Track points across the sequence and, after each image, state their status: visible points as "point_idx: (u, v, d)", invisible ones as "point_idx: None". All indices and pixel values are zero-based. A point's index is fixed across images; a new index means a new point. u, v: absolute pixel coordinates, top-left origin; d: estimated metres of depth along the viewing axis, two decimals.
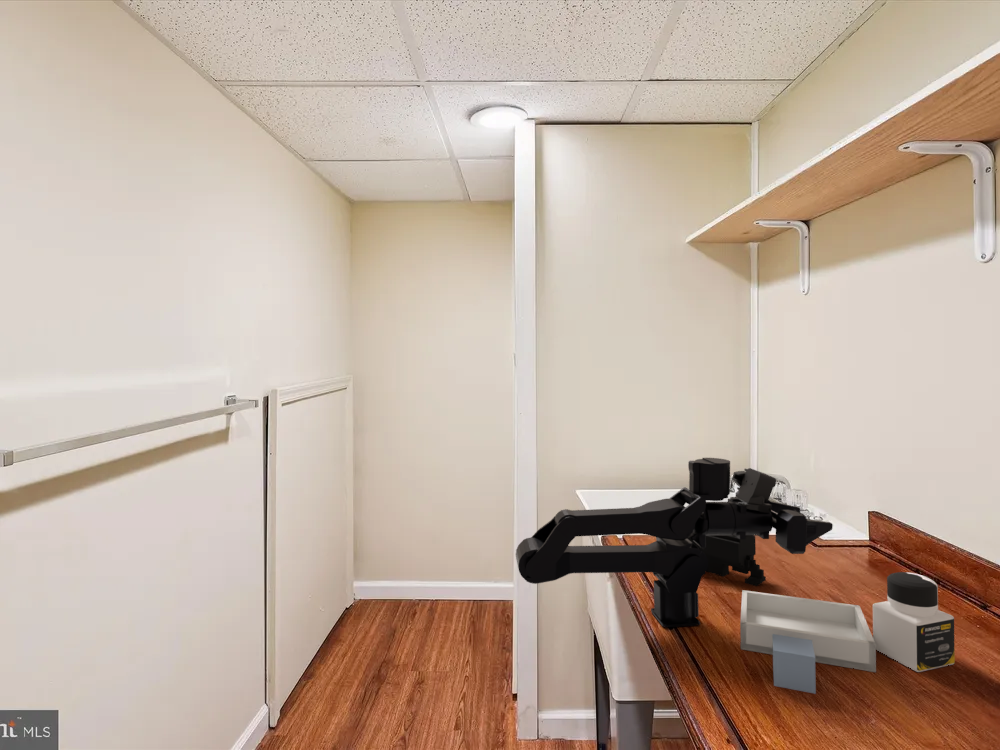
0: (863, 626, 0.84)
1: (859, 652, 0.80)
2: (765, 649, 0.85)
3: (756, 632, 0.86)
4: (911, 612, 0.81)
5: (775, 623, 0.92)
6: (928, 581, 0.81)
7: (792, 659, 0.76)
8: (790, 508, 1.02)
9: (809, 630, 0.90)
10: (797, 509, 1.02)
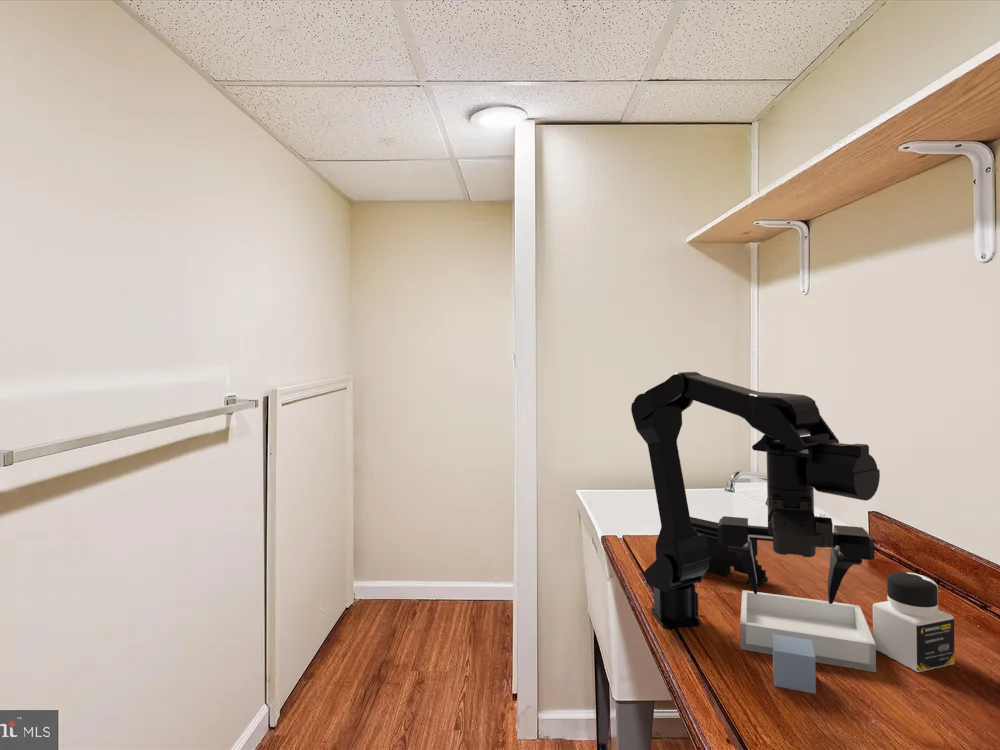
0: (863, 626, 0.84)
1: (859, 652, 0.80)
2: (765, 649, 0.85)
3: (756, 632, 0.86)
4: (911, 613, 0.81)
5: (775, 623, 0.92)
6: (928, 581, 0.81)
7: (792, 659, 0.76)
8: (829, 590, 0.76)
9: (809, 630, 0.90)
10: (828, 599, 0.76)
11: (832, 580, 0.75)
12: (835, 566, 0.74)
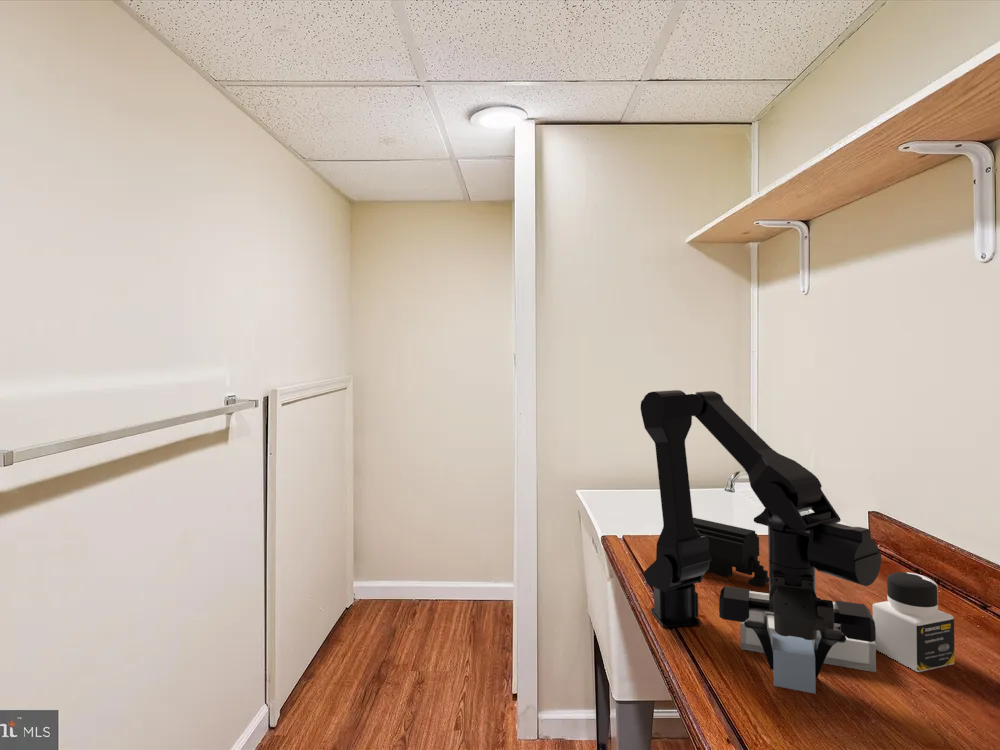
0: None
1: (859, 652, 0.80)
2: None
3: None
4: (911, 613, 0.81)
5: None
6: (928, 581, 0.81)
7: (792, 658, 0.76)
8: None
9: None
10: None
11: (817, 655, 0.76)
12: (820, 642, 0.75)
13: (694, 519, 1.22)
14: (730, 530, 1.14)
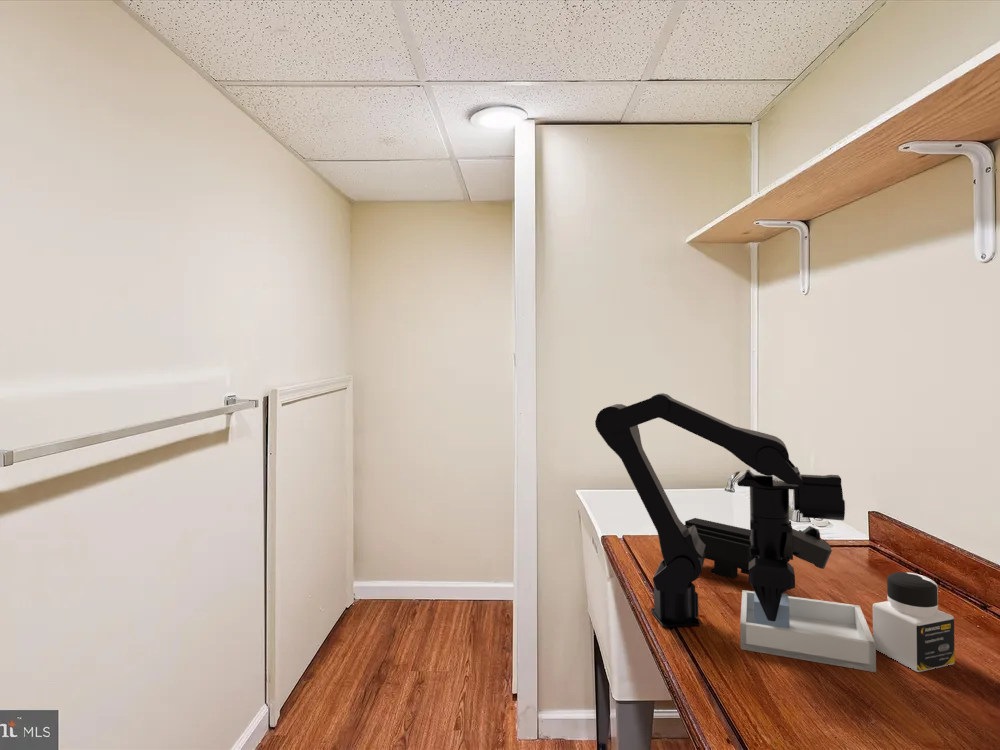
0: (863, 626, 0.84)
1: (859, 652, 0.80)
2: (765, 649, 0.85)
3: (756, 632, 0.86)
4: (911, 613, 0.81)
5: None
6: (928, 581, 0.81)
7: None
8: None
9: (809, 630, 0.90)
10: None
11: None
12: None
13: (699, 520, 1.21)
14: (735, 531, 1.13)
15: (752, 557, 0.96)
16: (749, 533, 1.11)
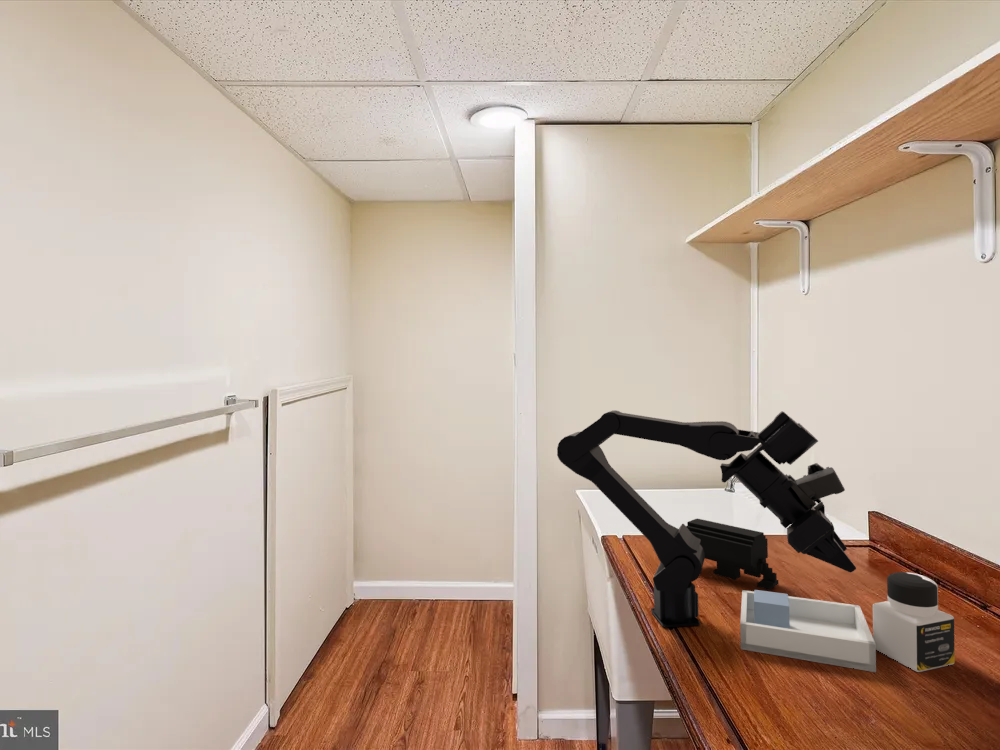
0: (863, 626, 0.84)
1: (859, 652, 0.80)
2: (765, 649, 0.85)
3: (756, 632, 0.86)
4: (911, 613, 0.81)
5: None
6: (928, 581, 0.81)
7: None
8: (837, 540, 0.90)
9: (809, 630, 0.90)
10: (843, 547, 0.90)
11: None
12: None
13: (701, 521, 1.21)
14: (738, 532, 1.12)
15: None
16: (752, 534, 1.11)
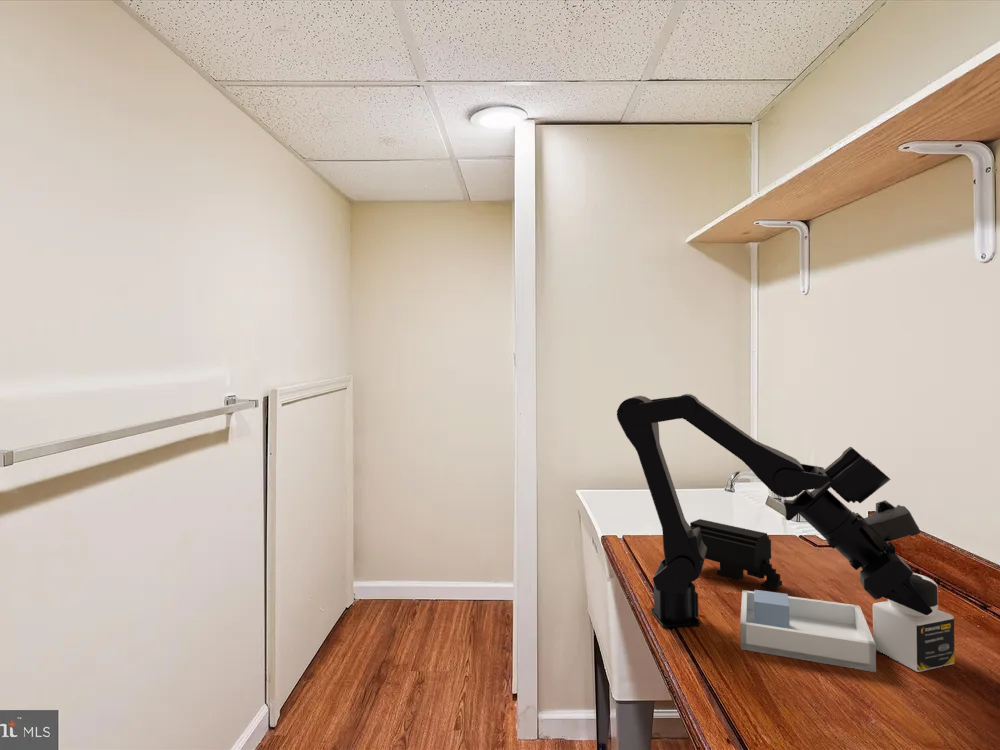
0: (863, 626, 0.84)
1: (859, 652, 0.80)
2: (765, 649, 0.85)
3: (756, 632, 0.86)
4: (911, 612, 0.81)
5: None
6: (928, 581, 0.81)
7: None
8: None
9: (809, 630, 0.90)
10: None
11: None
12: None
13: (704, 521, 1.20)
14: (741, 533, 1.12)
15: None
16: (755, 534, 1.10)
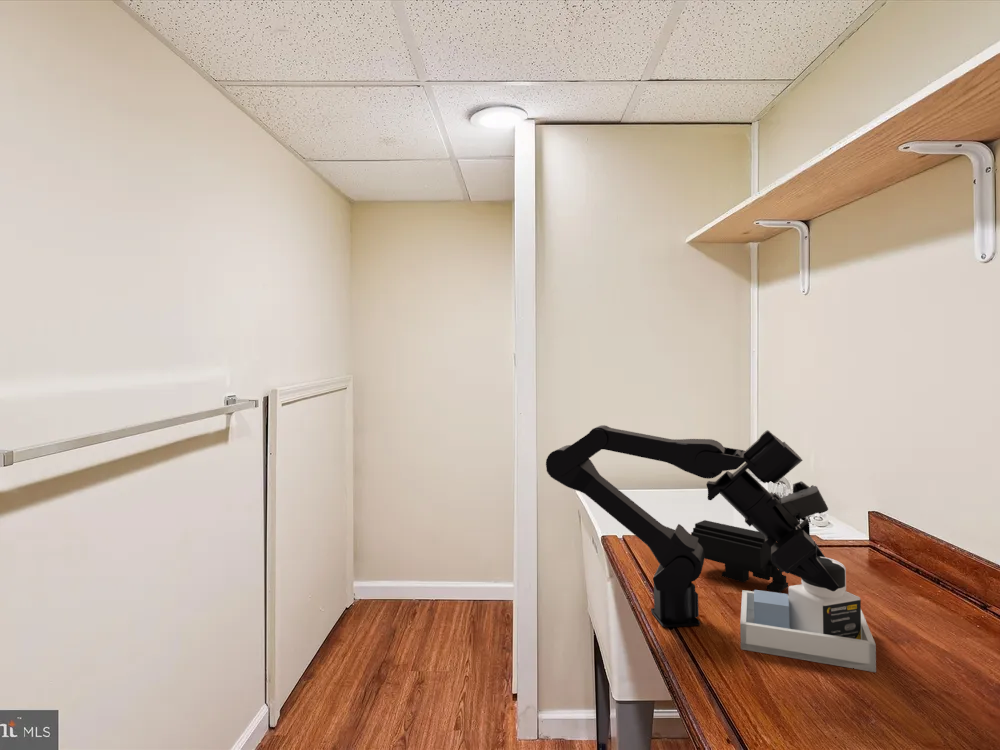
0: (863, 626, 0.84)
1: (859, 652, 0.80)
2: (765, 649, 0.85)
3: (756, 632, 0.86)
4: (820, 594, 0.85)
5: None
6: (836, 564, 0.86)
7: None
8: None
9: None
10: None
11: (817, 546, 0.92)
12: (809, 533, 0.93)
13: (709, 522, 1.19)
14: (747, 534, 1.11)
15: None
16: (761, 536, 1.10)
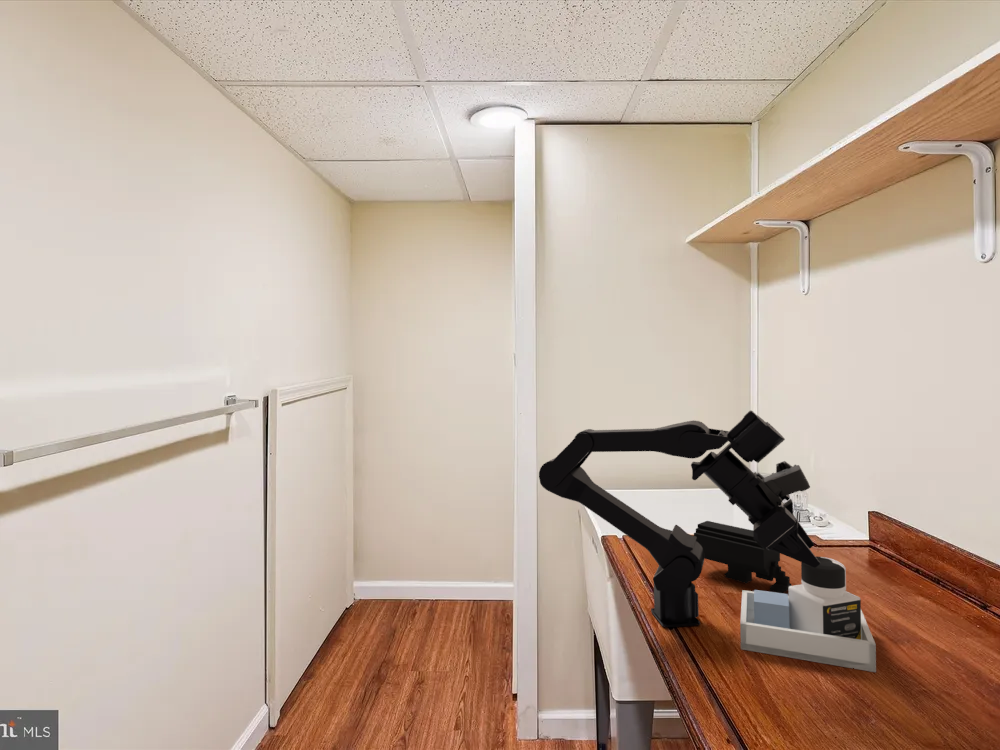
0: (863, 626, 0.84)
1: (859, 652, 0.80)
2: (765, 649, 0.85)
3: (756, 632, 0.86)
4: (820, 594, 0.85)
5: None
6: (836, 564, 0.86)
7: None
8: (804, 536, 0.92)
9: None
10: (810, 543, 0.92)
11: (800, 525, 0.93)
12: (792, 512, 0.94)
13: (711, 523, 1.19)
14: (750, 535, 1.10)
15: None
16: None
